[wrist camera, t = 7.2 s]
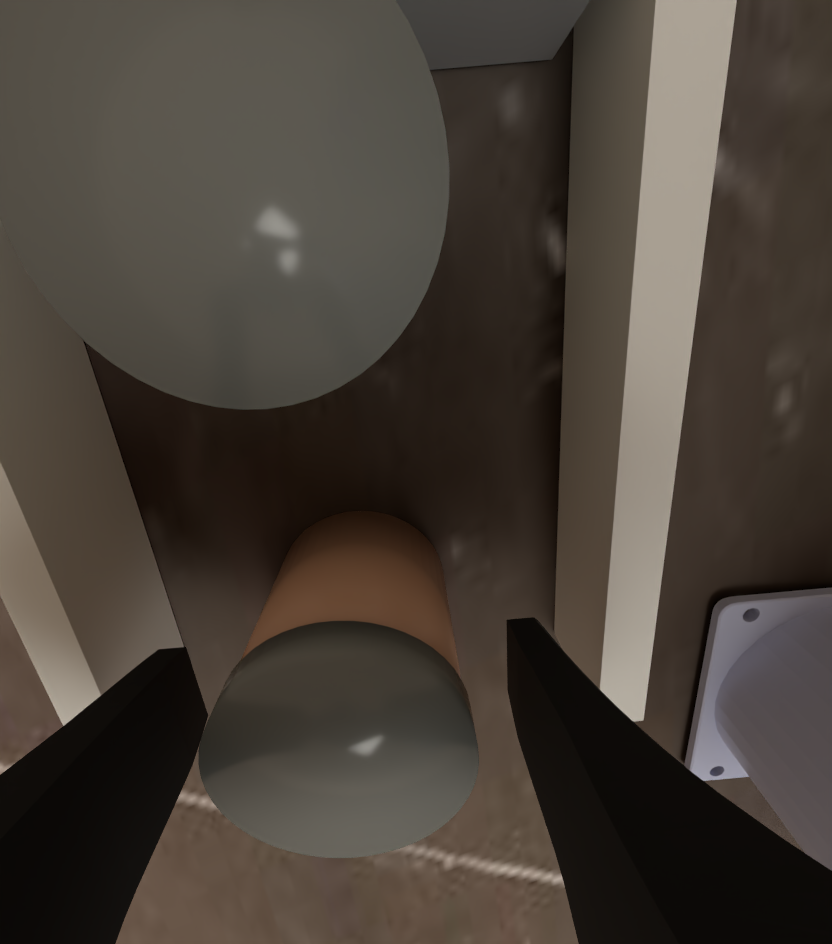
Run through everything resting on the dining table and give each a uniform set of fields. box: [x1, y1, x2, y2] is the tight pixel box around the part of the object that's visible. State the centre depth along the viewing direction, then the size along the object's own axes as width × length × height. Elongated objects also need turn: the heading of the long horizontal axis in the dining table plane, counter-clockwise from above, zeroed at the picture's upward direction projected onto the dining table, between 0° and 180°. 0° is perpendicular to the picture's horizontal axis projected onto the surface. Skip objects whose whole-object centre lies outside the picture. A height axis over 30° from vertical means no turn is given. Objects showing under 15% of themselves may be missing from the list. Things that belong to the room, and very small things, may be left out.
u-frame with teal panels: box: [0, 0, 737, 726], centre depth 10 cm, size 14×19×4 cm
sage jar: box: [0, 0, 449, 410], centre depth 8 cm, size 5×5×6 cm
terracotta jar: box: [199, 511, 479, 858], centre depth 11 cm, size 5×5×6 cm
